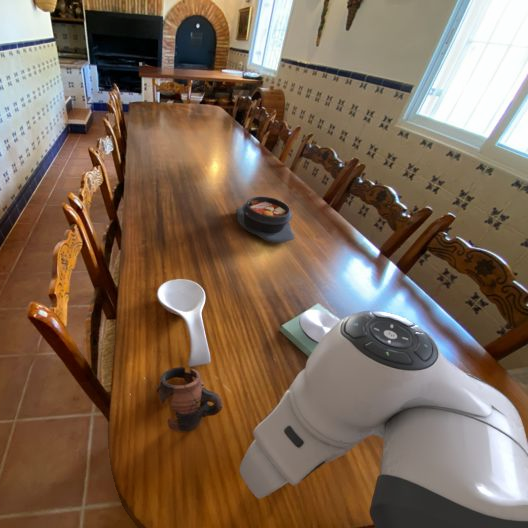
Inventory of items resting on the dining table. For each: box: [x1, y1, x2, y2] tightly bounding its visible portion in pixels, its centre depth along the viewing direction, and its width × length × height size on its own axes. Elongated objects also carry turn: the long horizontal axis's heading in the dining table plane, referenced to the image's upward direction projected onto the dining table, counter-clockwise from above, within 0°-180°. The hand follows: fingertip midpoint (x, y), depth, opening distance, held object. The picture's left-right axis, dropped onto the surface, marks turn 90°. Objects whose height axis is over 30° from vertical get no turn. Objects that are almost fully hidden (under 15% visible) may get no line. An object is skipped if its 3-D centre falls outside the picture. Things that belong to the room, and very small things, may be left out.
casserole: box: [235, 195, 296, 244], centre depth 104 cm, size 25×19×8 cm
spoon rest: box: [156, 278, 211, 368], centre depth 68 cm, size 24×12×7 cm, turn 14°
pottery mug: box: [156, 366, 224, 433], centre depth 54 cm, size 12×10×8 cm
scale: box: [279, 303, 342, 358], centre depth 67 cm, size 16×14×4 cm
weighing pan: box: [299, 310, 339, 344], centre depth 67 cm, size 10×10×1 cm
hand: (286, 452), depth 45 cm, fingers open, 8 cm apart
